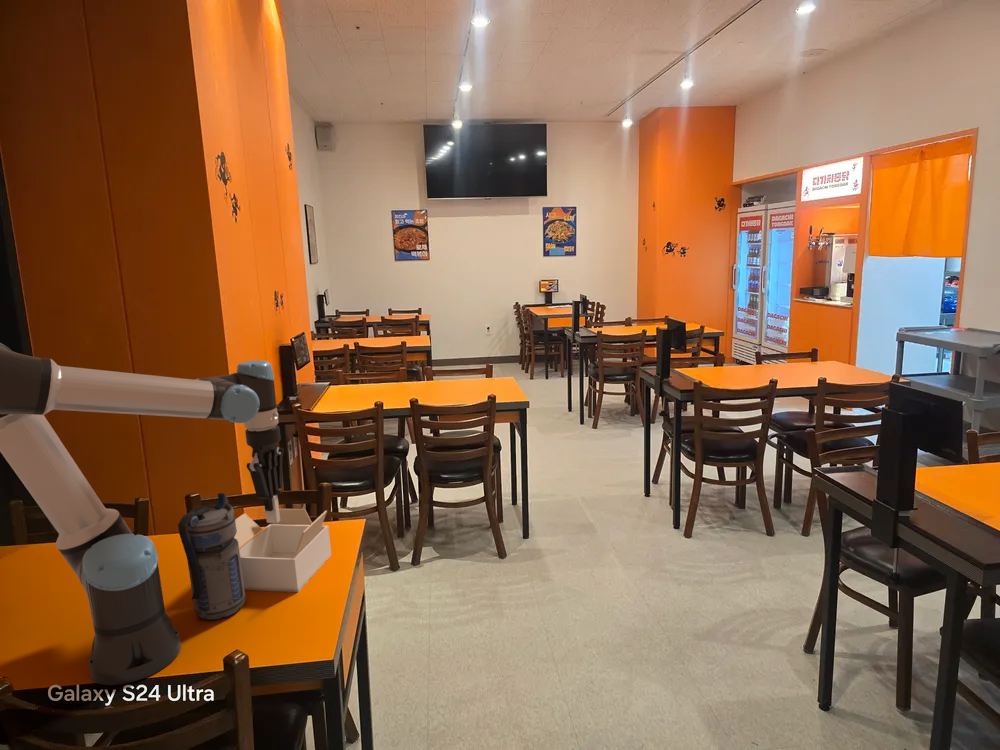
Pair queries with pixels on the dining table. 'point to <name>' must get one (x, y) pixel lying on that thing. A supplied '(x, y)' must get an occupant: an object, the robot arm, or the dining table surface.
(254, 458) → the robot arm
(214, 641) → the dining table surface
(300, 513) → the flap
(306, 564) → the carton
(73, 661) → the dining table surface
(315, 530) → the flap
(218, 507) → the beverage bottle
